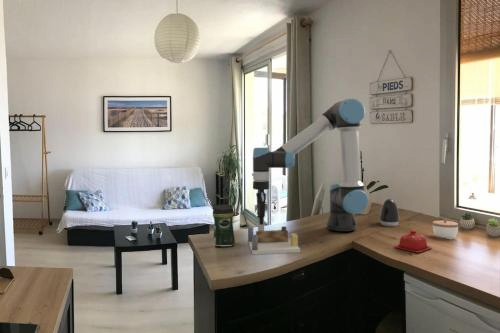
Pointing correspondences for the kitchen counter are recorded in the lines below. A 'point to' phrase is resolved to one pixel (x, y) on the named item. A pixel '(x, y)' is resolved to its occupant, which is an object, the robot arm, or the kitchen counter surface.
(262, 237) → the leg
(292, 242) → the white board with blocks
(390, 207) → the dark grey dome
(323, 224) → the kitchen counter surface
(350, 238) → the kitchen counter surface
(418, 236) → the butter dish
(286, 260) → the kitchen counter surface
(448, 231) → the lidded jar
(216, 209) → the coffee jar
